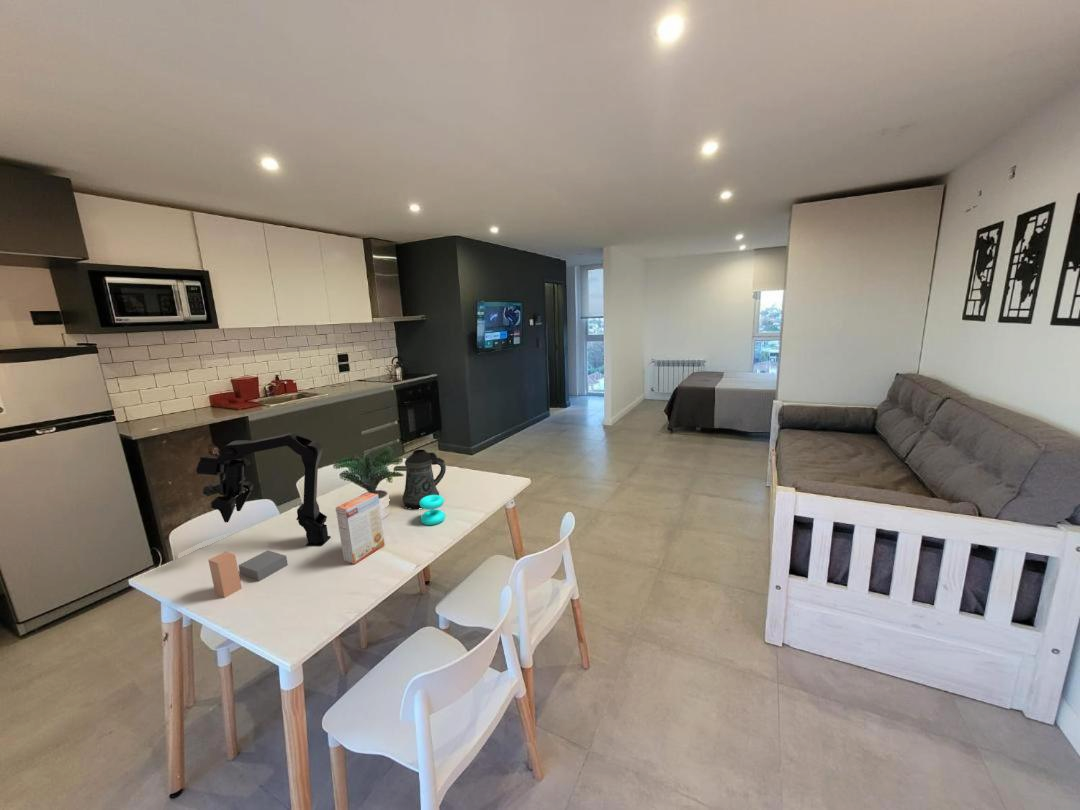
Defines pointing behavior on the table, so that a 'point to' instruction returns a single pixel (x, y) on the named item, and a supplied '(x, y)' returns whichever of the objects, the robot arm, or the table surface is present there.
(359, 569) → the table surface
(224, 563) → the terracotta block
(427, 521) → the donuts
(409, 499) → the beer stein
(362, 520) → the cracker box
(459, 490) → the table surface
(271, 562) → the charcoal box
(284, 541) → the table surface
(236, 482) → the robot arm
